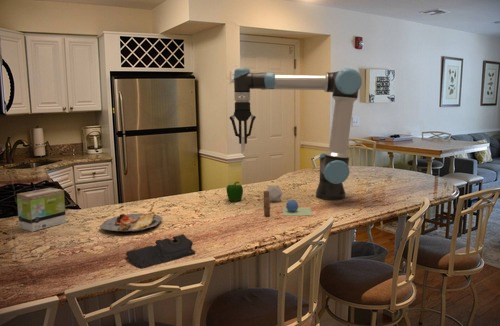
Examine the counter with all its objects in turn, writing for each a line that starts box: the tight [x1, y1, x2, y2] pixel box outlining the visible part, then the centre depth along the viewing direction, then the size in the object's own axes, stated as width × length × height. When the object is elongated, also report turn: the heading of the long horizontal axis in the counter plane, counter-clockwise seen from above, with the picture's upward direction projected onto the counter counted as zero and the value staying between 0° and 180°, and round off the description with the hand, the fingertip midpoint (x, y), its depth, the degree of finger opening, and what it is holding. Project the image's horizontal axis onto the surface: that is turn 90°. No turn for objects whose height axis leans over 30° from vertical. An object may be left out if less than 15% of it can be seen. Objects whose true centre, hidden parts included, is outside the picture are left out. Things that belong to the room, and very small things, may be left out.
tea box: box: [16, 187, 67, 233], centre depth 168 cm, size 15×10×15 cm, turn 148°
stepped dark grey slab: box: [125, 233, 196, 270], centre depth 136 cm, size 15×22×5 cm
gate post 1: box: [263, 190, 269, 199], centre depth 190 cm, size 3×3×8 cm
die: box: [266, 184, 283, 203], centre depth 204 cm, size 8×9×10 cm
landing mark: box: [281, 206, 314, 217], centre depth 184 cm, size 13×13×1 cm
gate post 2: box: [263, 197, 271, 218], centre depth 178 cm, size 3×3×8 cm
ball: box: [285, 199, 299, 212], centre depth 184 cm, size 6×6×6 cm
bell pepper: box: [225, 181, 244, 202], centre depth 205 cm, size 8×8×10 cm
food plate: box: [99, 211, 163, 233], centre depth 167 cm, size 25×23×4 cm
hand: (243, 150), depth 196 cm, fingers closed
